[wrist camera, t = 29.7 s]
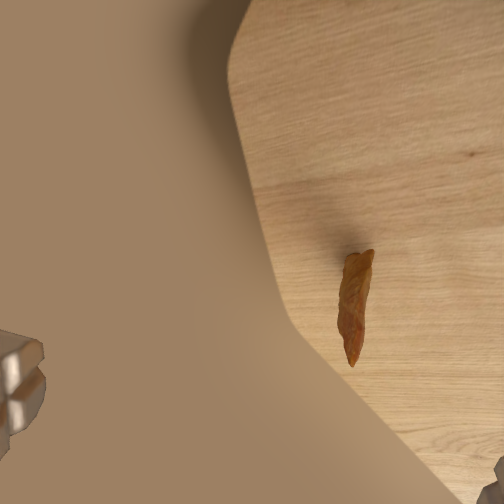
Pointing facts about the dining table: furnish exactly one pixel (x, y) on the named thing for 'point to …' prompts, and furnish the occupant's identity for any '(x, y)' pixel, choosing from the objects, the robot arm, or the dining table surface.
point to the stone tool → (354, 302)
